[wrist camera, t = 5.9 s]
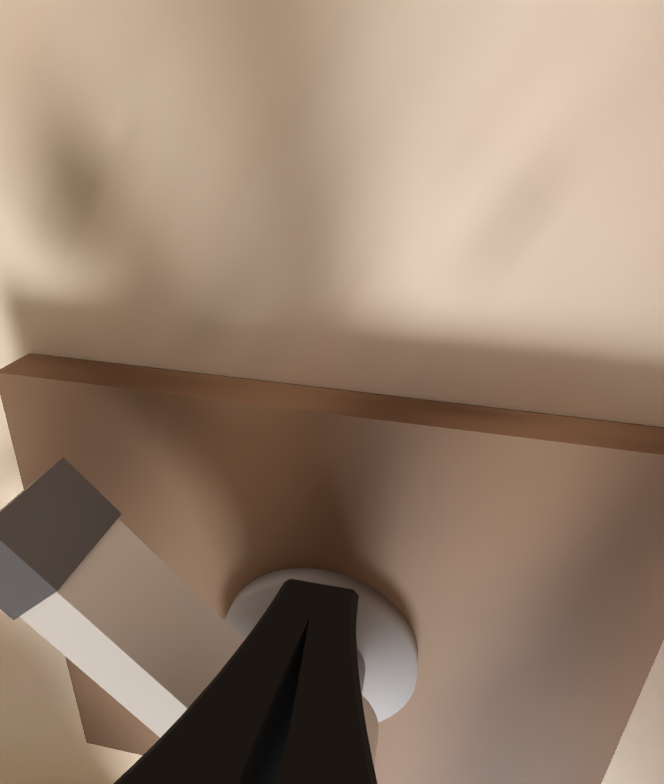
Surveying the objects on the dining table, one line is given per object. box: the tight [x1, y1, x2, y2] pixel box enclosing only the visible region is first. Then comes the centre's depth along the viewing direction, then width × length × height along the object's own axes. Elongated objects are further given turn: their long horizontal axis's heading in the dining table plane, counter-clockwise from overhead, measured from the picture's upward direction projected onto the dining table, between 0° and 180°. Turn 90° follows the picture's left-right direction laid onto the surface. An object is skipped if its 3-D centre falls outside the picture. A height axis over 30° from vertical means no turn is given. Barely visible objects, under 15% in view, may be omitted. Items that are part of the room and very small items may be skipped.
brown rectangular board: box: [0, 354, 664, 784], centre depth 15 cm, size 16×14×3 cm
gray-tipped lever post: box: [0, 457, 379, 769], centre depth 11 cm, size 4×10×3 cm, turn 40°
